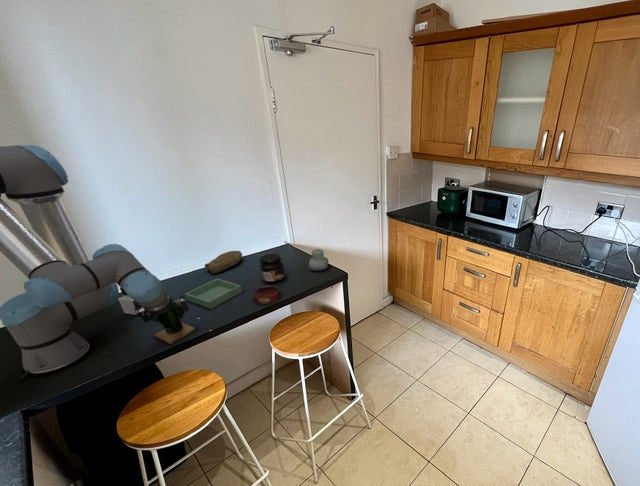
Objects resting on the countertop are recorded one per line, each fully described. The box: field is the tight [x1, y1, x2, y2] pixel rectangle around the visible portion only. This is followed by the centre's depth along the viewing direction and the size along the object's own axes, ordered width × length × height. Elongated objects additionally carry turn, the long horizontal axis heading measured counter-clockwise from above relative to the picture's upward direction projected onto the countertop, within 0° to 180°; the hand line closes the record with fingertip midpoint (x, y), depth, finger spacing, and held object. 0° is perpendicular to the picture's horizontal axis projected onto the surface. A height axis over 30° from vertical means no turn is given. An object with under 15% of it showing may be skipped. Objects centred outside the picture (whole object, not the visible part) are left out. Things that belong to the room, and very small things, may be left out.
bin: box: [184, 278, 243, 310], centre depth 138 cm, size 16×16×3 cm
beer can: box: [159, 311, 183, 335], centre depth 112 cm, size 5×5×12 cm
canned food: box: [251, 284, 280, 305], centre depth 136 cm, size 11×10×10 cm
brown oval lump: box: [204, 250, 243, 275], centre depth 165 cm, size 13×8×20 cm
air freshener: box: [308, 248, 329, 272], centre depth 161 cm, size 11×8×10 cm
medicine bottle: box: [117, 286, 142, 316], centre depth 126 cm, size 7×7×12 cm
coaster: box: [154, 322, 196, 344], centre depth 115 cm, size 9×9×1 cm
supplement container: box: [258, 252, 286, 285], centre depth 150 cm, size 10×10×12 cm
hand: (171, 318), depth 116 cm, fingers open, 5 cm apart
